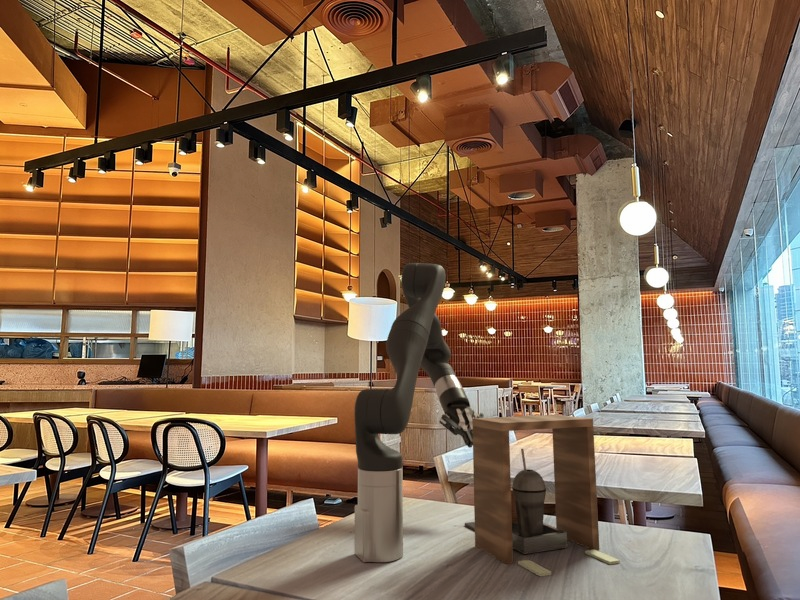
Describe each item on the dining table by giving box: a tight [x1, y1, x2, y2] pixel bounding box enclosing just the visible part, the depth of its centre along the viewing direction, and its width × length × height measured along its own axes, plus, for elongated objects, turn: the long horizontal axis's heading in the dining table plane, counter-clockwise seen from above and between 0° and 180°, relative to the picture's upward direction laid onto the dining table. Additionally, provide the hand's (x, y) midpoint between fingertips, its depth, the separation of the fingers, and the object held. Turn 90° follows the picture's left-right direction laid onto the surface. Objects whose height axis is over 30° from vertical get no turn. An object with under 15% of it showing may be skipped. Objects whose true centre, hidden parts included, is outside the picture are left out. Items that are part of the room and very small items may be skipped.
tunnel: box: [472, 414, 600, 565], centre depth 118 cm, size 23×12×27 cm, turn 112°
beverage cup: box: [511, 448, 547, 537], centre depth 119 cm, size 7×7×20 cm
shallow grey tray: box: [511, 487, 568, 555], centre depth 119 cm, size 11×13×10 cm
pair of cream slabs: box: [517, 549, 621, 577], centre depth 106 cm, size 18×7×1 cm, turn 112°
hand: (473, 445), depth 142 cm, fingers closed
